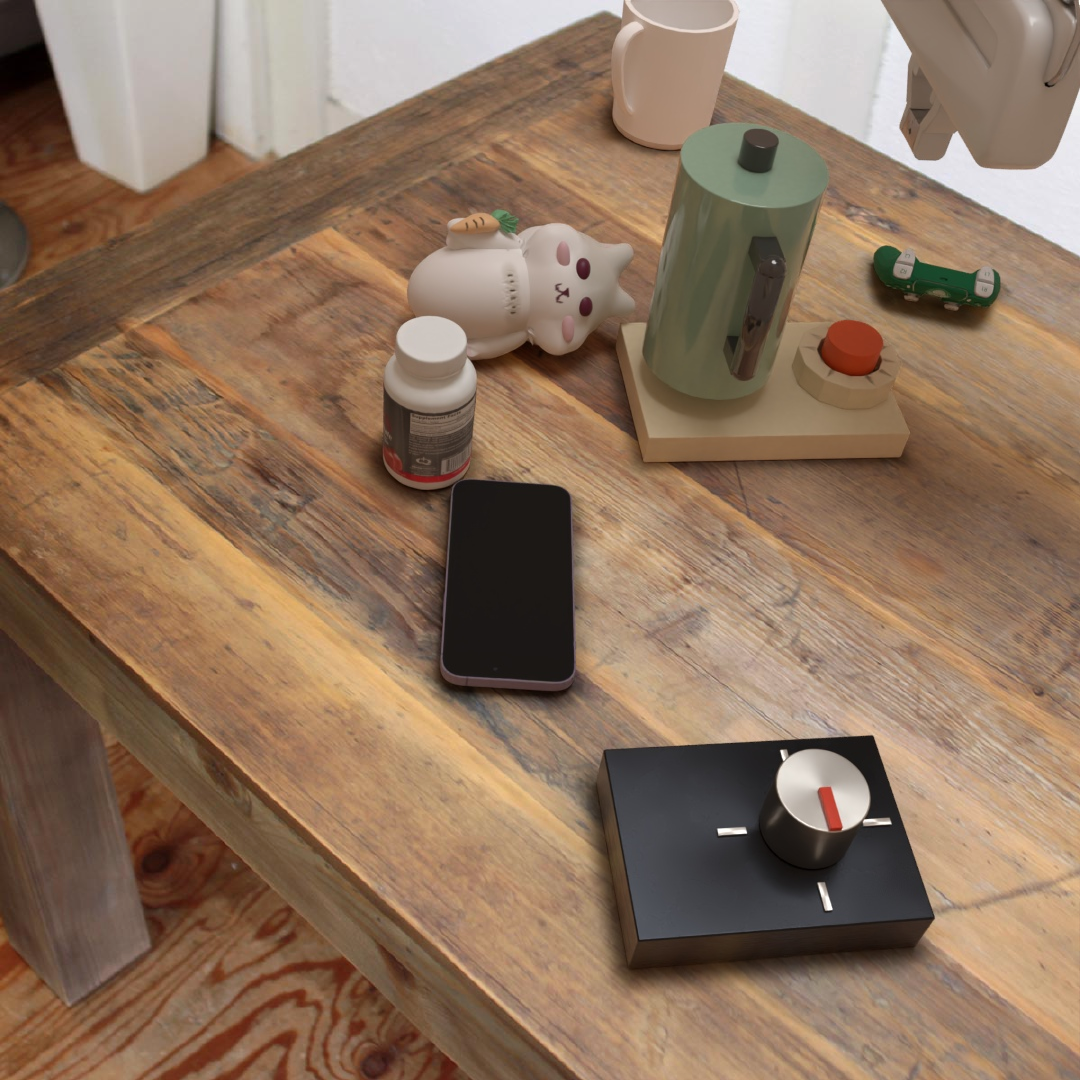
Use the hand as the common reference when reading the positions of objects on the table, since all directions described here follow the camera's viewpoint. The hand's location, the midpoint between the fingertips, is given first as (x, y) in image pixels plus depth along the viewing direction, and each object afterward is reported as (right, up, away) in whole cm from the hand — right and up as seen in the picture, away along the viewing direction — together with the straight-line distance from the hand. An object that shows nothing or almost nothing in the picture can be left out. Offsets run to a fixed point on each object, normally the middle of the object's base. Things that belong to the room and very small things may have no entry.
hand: (919, 146), depth 75 cm
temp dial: (-9, -36, -11) cm, 38 cm away
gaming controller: (+7, -4, +23) cm, 25 cm away
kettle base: (-7, -13, +13) cm, 20 cm away
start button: (-1, -10, +12) cm, 16 cm away
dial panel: (-11, -38, -9) cm, 40 cm away
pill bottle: (-28, -17, +7) cm, 34 cm away
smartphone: (-23, -25, +1) cm, 34 cm away
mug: (-12, +12, +35) cm, 39 cm away
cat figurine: (-23, -8, +16) cm, 29 cm away
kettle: (-11, -10, +10) cm, 18 cm away
